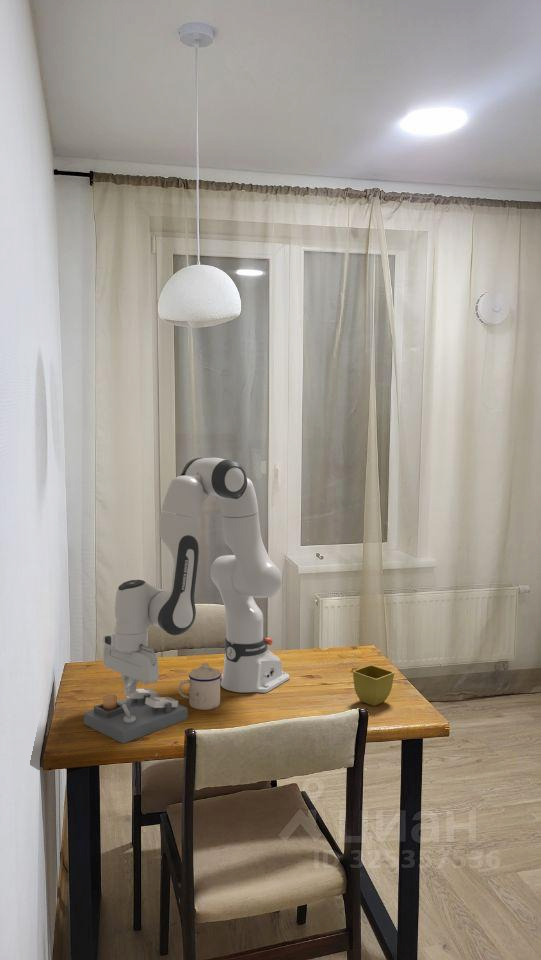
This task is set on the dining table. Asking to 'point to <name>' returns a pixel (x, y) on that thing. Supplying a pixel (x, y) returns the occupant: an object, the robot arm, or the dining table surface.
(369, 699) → the flower pot
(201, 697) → the teacup with lid
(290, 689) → the dining table surface
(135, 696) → the rocker
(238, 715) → the dining table surface
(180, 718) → the panel
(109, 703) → the button
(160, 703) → the rocker
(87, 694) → the dining table surface
